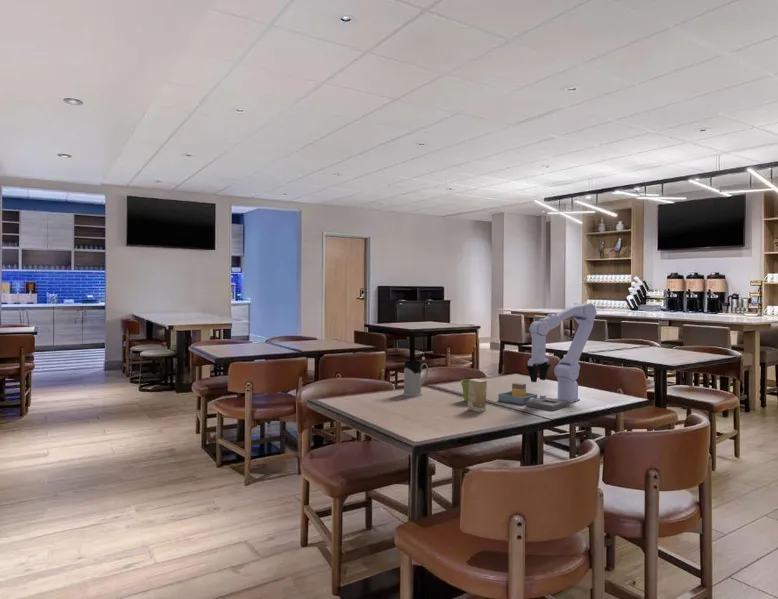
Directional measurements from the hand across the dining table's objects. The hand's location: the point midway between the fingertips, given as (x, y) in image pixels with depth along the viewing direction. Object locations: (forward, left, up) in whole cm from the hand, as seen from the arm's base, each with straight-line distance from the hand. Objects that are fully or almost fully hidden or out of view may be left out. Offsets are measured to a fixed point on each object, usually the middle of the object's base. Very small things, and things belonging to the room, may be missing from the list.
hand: (538, 381), depth 235 cm
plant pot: (+18, -22, -10) cm, 30 cm away
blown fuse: (+3, -8, -9) cm, 12 cm away
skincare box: (+31, -10, -10) cm, 34 cm away
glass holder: (+23, -49, -10) cm, 55 cm away
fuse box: (+3, +6, -9) cm, 12 cm away
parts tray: (+3, -8, -9) cm, 13 cm away
